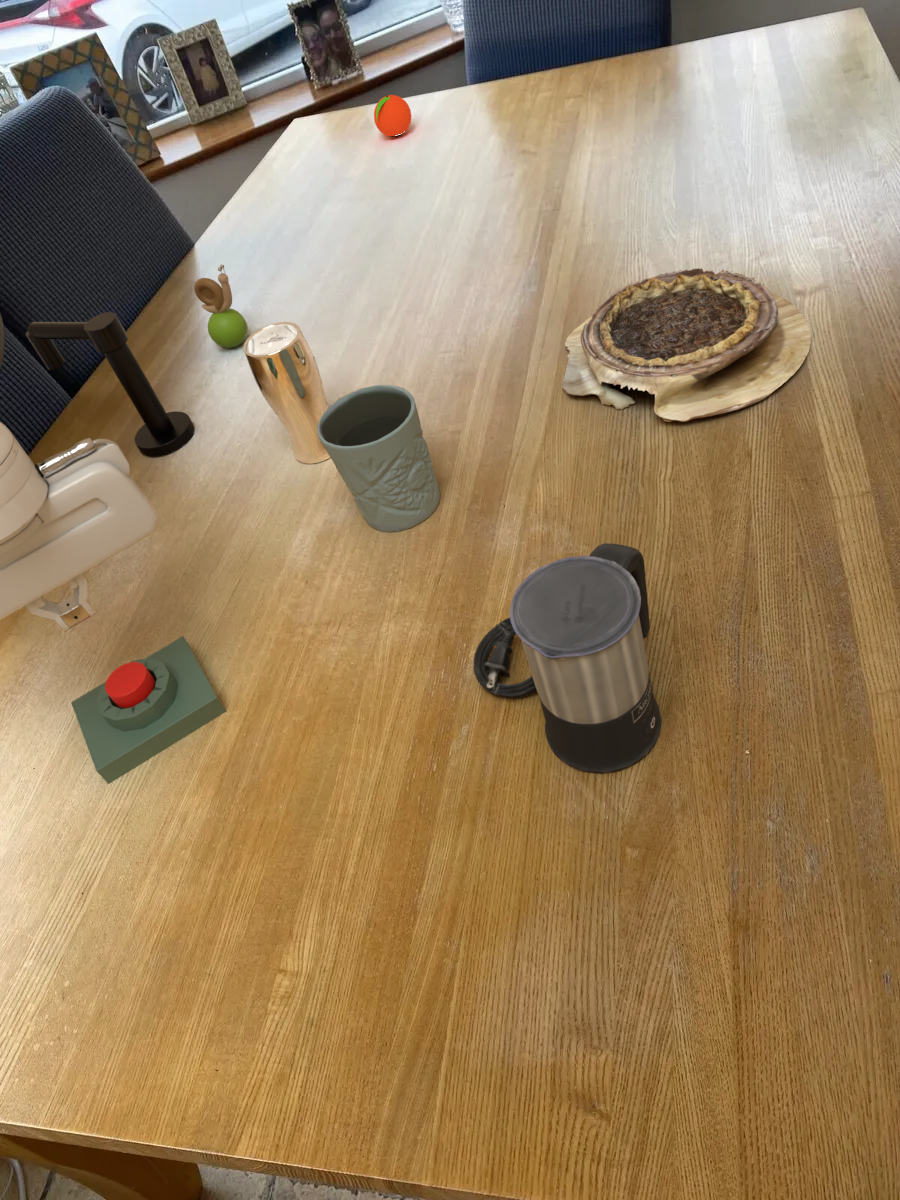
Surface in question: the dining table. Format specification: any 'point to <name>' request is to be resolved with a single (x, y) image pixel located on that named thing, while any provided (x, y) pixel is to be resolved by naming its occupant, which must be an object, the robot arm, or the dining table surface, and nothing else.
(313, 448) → the beer glass
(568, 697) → the milk frother
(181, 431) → the base
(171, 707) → the control block
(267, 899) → the dining table surface
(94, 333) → the spout
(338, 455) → the embossed green cup
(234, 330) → the snail figurine
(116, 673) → the button
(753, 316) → the pie
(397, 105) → the clementine
